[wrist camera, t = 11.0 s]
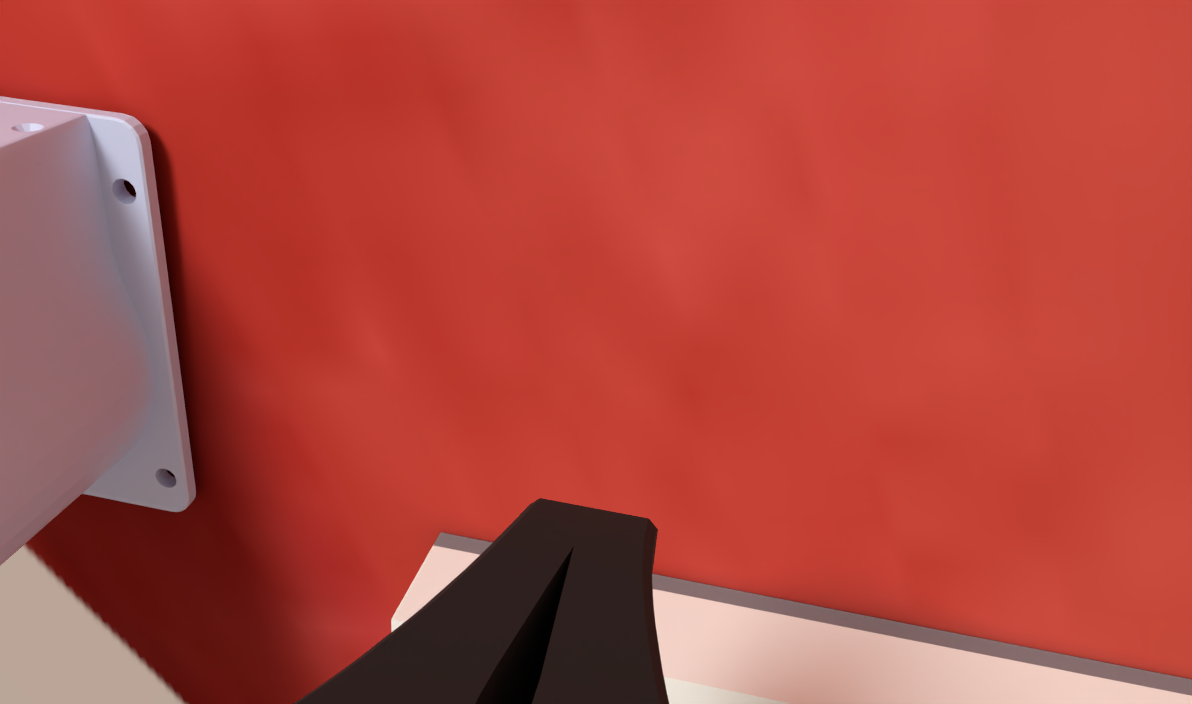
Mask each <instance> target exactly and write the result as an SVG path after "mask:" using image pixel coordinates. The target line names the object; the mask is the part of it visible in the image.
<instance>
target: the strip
mask: <svg viewBox="0 0 1192 704" xmlns="http://www.w3.org/2000/svg"><path fill="white" fill-rule="evenodd" d="M492 543H493V542H488V541H483V540H477V539H472V538H467V537H462V536H457V535H452V534H447V533H442V532H440V534H439V536H438V538H437V540H436V541H435V543H434V545H433V547H432V548H431V550H430V552H429V554H428V555H427V557H426V559H425V561H424V563H423V564H422V566H421V568H420V570H419V571H418V573H417V575H416V577H415V578H414V580H413V582H412V584H411V585H410V587H409V589H408V591H407V593H406V594H405V596H404V598H403V600H402V601H401V603H400V605H399V607H398V608H397V610H396V612H395V614H394V615H393V617H392V619H391V625H392V632H393V631H394V630H395V629H396V628H398V627H399V626H400V625H401V624H403V623H404V622H405V621H406V620H408V619H409V618H410V617H411V616H413V615H414V614H415V613H416V612H417V611H419V610H420V609H421V608H422V607H423V606H425V605H426V604H427V603H428V602H429V601H430V600H431V599H432V598H434V597H435V596H436V595H437V594H438V593H439V592H440V591H441V590H442V589H444V588H445V587H446V586H447V585H448V584H449V583H450V582H451V581H453V580H454V579H455V578H456V577H457V576H458V575H459V574H460V573H461V572H463V571H464V570H465V569H466V568H467V567H468V566H469V565H470V564H471V563H472V562H473V561H474V560H475V559H476V558H477V557H479V556H480V555H481V554H482V553H483V552H484V551H485V550H486V549H487V548H488V547H489V546H490V545H491V544H492ZM652 586H653V604H654V614H655V624H656V631H657V637H658V644H659V651H660V657H661V664H662V670H663V675H664V680H665V686H666V691H667V696H668V700H669V704H1192V679H1187V678H1182V677H1177V676H1171V675H1166V674H1161V673H1156V672H1151V671H1146V670H1141V669H1136V668H1131V667H1126V666H1120V665H1115V664H1110V663H1105V662H1100V661H1095V660H1090V659H1085V658H1080V657H1075V656H1069V655H1064V654H1059V653H1054V652H1049V651H1044V650H1039V649H1034V648H1029V647H1023V646H1018V645H1013V644H1008V643H1003V642H998V641H993V640H988V639H983V638H978V637H972V636H967V635H962V634H957V633H952V632H947V631H942V630H937V629H932V628H927V627H921V626H916V625H911V624H906V623H901V622H896V621H891V620H886V619H881V618H876V617H870V616H865V615H860V614H855V613H850V612H845V611H840V610H835V609H830V608H824V607H819V606H814V605H809V604H804V603H799V602H794V601H789V600H784V599H779V598H773V597H768V596H763V595H758V594H753V593H748V592H743V591H738V590H733V589H728V588H722V587H717V586H712V585H707V584H702V583H697V582H692V581H687V580H682V579H676V578H671V577H666V576H661V575H656V574H652Z"/></svg>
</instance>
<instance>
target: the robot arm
mask: <svg viewBox="0 0 1192 704" xmlns="http://www.w3.org/2000/svg"><path fill="white" fill-rule="evenodd" d="M124 180H127V181H129V182H130V183H131V184H132V185H133V186H134V188H135V191H136V197H134V196H132V195H131V194H130V193H129V192H128V191H127V190H126V188H125V185H124ZM167 470H169V471H171V472H172V473H173V474H174V476H175V477H172V476H171V475H170V474H169V473H168V472H167ZM81 494H86V495H91V496H96V497H101V498H106V499H111V500H116V501H121V502H126V503H131V504H136V505H141V506H146V507H151V508H156V509H161V510H166V511H171V512H181V511H183V510H185V509H186V508H187V507H188V506H189V505H190V504H191V503H192V502H193V500H194V499H195V497H196V487H195V479H194V472H193V464H192V456H191V449H190V441H189V433H188V425H187V418H186V410H185V402H184V395H183V387H182V379H181V372H180V364H179V356H178V348H177V341H176V333H175V325H174V318H173V310H172V302H171V295H170V287H169V279H168V271H167V264H166V256H165V248H164V241H163V233H162V225H161V218H160V210H159V202H158V194H157V187H156V179H155V171H154V164H153V156H152V148H151V141H150V138H149V135H148V132H147V130H146V129H145V127H144V126H143V124H142V123H141V122H139V121H138V120H137V119H136V118H134V117H133V116H130V115H127V114H123V113H116V112H109V111H102V110H95V109H87V108H80V107H73V106H66V105H59V104H52V103H44V102H37V101H30V100H23V99H16V98H9V97H1V96H0V565H1V564H3V563H4V562H5V561H6V560H7V559H8V558H9V557H10V556H12V555H13V554H14V553H15V552H16V551H17V550H18V549H20V548H21V547H22V546H23V545H24V544H25V543H26V542H28V541H29V540H30V539H31V538H32V537H33V536H34V535H35V534H37V533H38V532H39V531H40V530H41V529H42V528H43V527H45V526H46V525H47V524H48V523H49V522H50V521H51V520H52V519H54V518H55V517H56V516H57V515H58V514H59V513H60V512H62V511H63V510H64V509H65V508H66V507H67V506H68V505H70V504H71V503H72V502H73V501H74V500H75V499H76V498H77V497H79V496H80V495H81ZM657 531H658V529H657V528H656V527H655V526H654V524H653V523H652V522H651V521H650V519H648V518H642V517H637V516H632V515H626V514H621V513H616V512H610V511H605V510H600V509H594V508H589V507H584V506H579V505H573V504H568V503H563V502H557V501H552V500H547V499H541V498H540V499H538V500H536V501H535V502H533V503H532V504H530V505H529V506H528V507H527V508H526V509H525V510H524V511H523V512H522V513H521V514H520V516H519V517H518V518H517V519H516V520H515V521H514V522H513V523H512V524H511V525H510V526H509V527H508V528H507V529H506V530H505V531H504V532H503V533H502V534H501V535H500V536H499V537H498V538H497V539H496V540H495V541H494V542H493V543H492V544H491V545H490V546H489V547H488V548H487V549H486V550H485V551H484V552H483V553H482V554H481V555H480V556H479V557H477V558H476V559H475V560H474V561H473V562H472V563H471V564H470V565H469V566H468V567H467V568H466V569H465V570H464V571H463V572H461V573H460V574H459V575H458V576H457V577H456V578H455V579H454V580H453V581H451V582H450V583H449V584H448V585H447V586H446V587H445V588H444V589H442V590H441V591H440V592H439V593H438V594H437V595H436V596H435V597H434V598H432V599H431V600H430V601H429V602H428V603H427V604H426V605H425V606H423V607H422V608H421V609H420V610H419V611H417V612H416V613H415V614H414V615H413V616H411V617H410V618H409V619H408V620H406V621H405V622H404V623H403V624H401V625H400V626H399V627H398V628H396V629H395V630H394V631H393V632H391V633H390V634H389V635H388V636H386V637H385V638H384V639H383V640H381V641H380V642H379V643H377V644H376V645H375V646H374V647H372V648H371V649H370V650H369V651H367V652H366V653H365V654H364V655H362V656H361V657H360V658H358V659H357V660H356V661H354V662H353V663H352V664H350V665H349V666H347V667H346V668H345V669H343V670H342V671H341V672H339V673H338V674H336V675H335V676H334V677H332V678H331V679H329V680H328V681H327V682H325V683H324V684H322V685H321V686H319V687H318V688H317V689H315V690H314V691H312V692H310V693H309V694H307V695H306V696H304V697H303V698H301V699H300V700H298V701H297V702H295V703H294V704H669V700H668V696H667V691H666V686H665V680H664V675H663V670H662V664H661V657H660V651H659V644H658V637H657V631H656V624H655V614H654V604H653V586H652V571H653V563H654V555H655V547H656V539H657Z"/></svg>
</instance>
